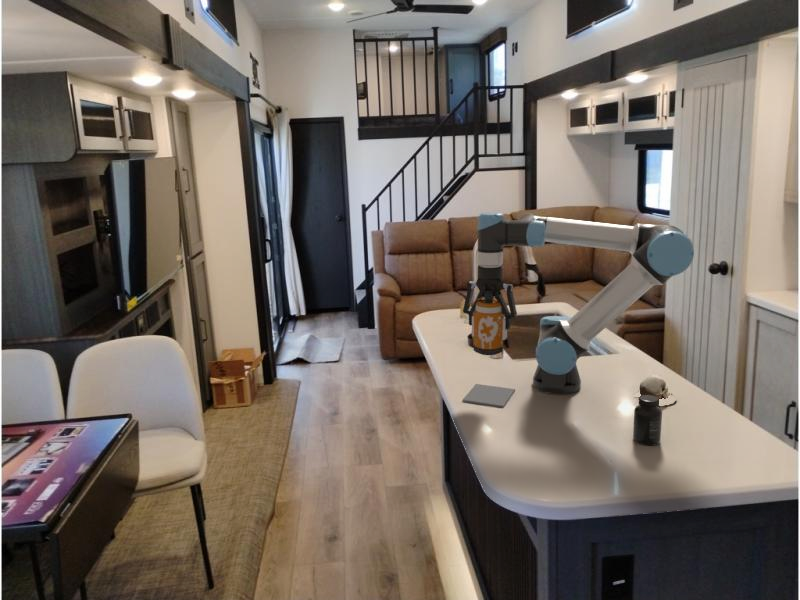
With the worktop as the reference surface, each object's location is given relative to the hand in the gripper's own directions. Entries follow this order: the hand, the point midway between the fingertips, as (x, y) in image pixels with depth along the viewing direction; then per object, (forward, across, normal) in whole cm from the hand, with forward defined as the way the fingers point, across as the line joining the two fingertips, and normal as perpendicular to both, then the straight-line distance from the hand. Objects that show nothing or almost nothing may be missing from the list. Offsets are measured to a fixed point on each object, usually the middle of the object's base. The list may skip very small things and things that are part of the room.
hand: (489, 337), depth 193 cm
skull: (+20, -48, -16) cm, 54 cm away
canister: (+5, 0, 0) cm, 5 cm away
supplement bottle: (+20, -47, +14) cm, 53 cm away
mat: (+19, 0, 0) cm, 19 cm away
